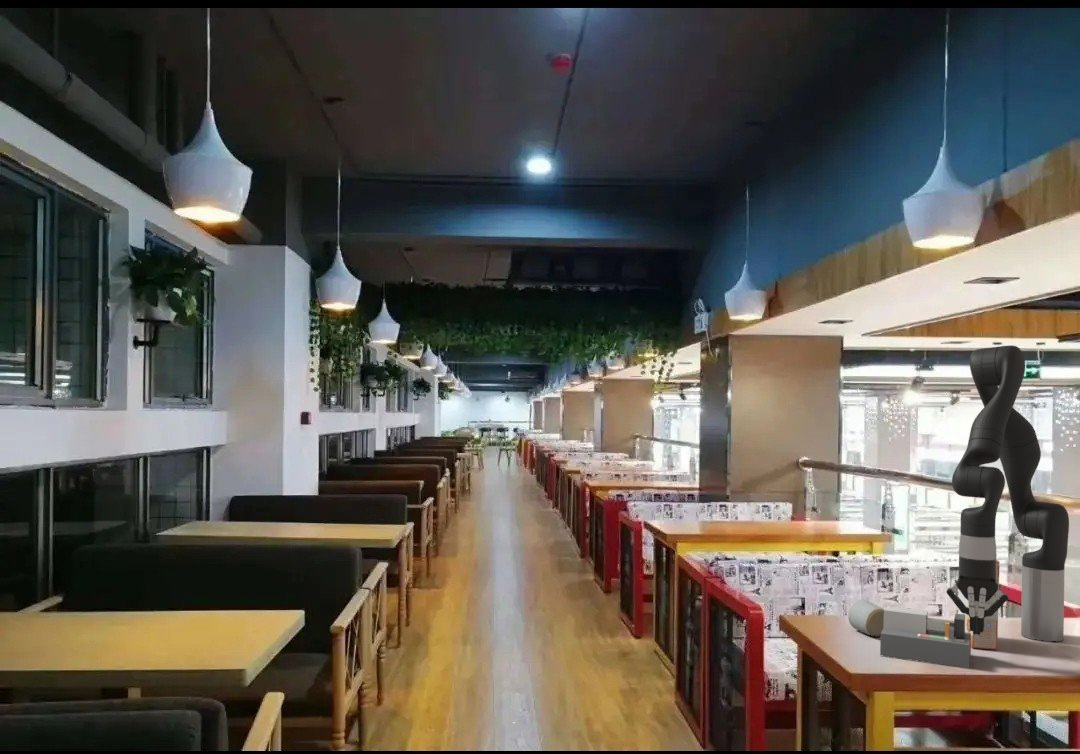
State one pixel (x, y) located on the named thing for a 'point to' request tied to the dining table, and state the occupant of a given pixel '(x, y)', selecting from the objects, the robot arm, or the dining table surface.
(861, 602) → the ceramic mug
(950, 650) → the gauge housing
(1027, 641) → the dining table surface
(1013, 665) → the dining table surface
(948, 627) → the orange rectangular prism
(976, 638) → the cracker box
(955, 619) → the plunger
